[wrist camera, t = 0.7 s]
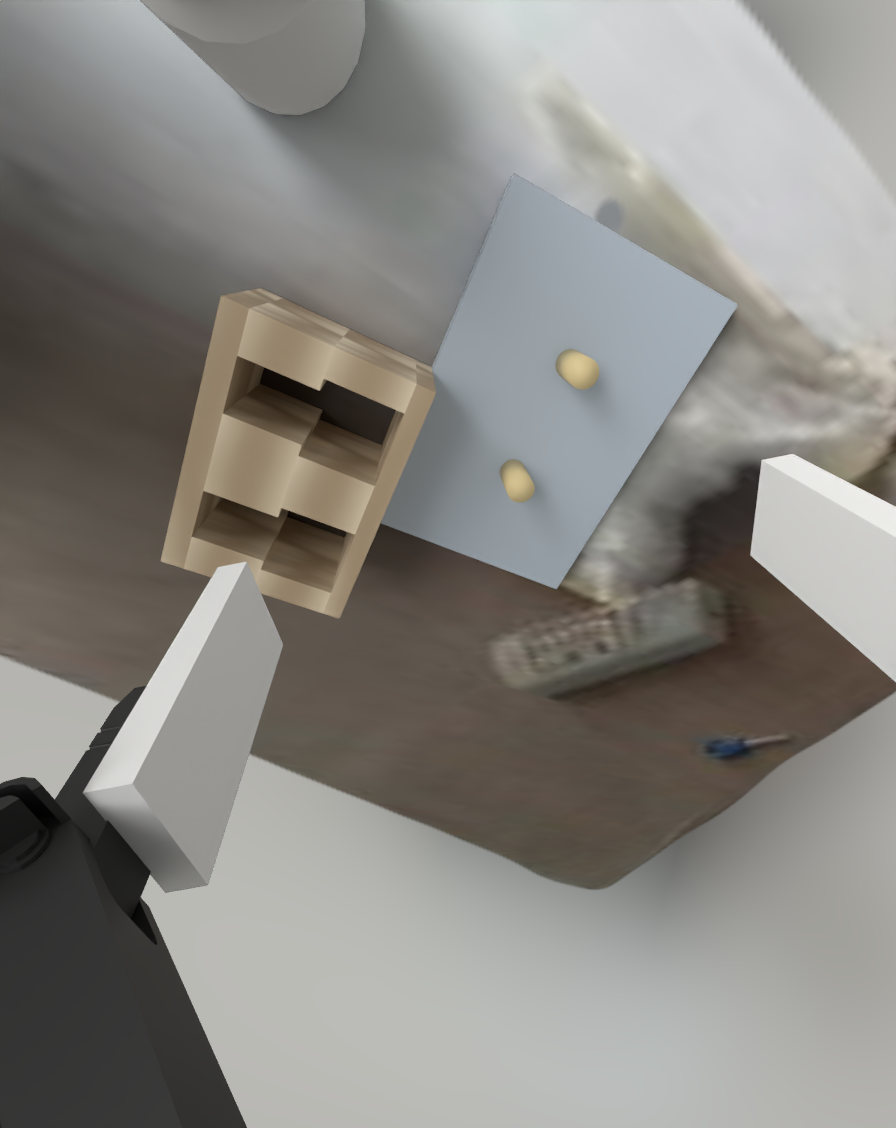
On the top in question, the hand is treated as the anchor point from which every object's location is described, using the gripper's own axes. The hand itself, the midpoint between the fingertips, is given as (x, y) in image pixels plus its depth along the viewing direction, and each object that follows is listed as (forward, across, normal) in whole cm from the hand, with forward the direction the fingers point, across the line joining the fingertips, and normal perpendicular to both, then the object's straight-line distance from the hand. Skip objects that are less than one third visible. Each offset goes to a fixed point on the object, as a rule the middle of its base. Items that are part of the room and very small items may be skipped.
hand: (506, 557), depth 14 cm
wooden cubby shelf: (+21, -9, -2) cm, 23 cm away
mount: (+21, +5, -3) cm, 22 cm away
